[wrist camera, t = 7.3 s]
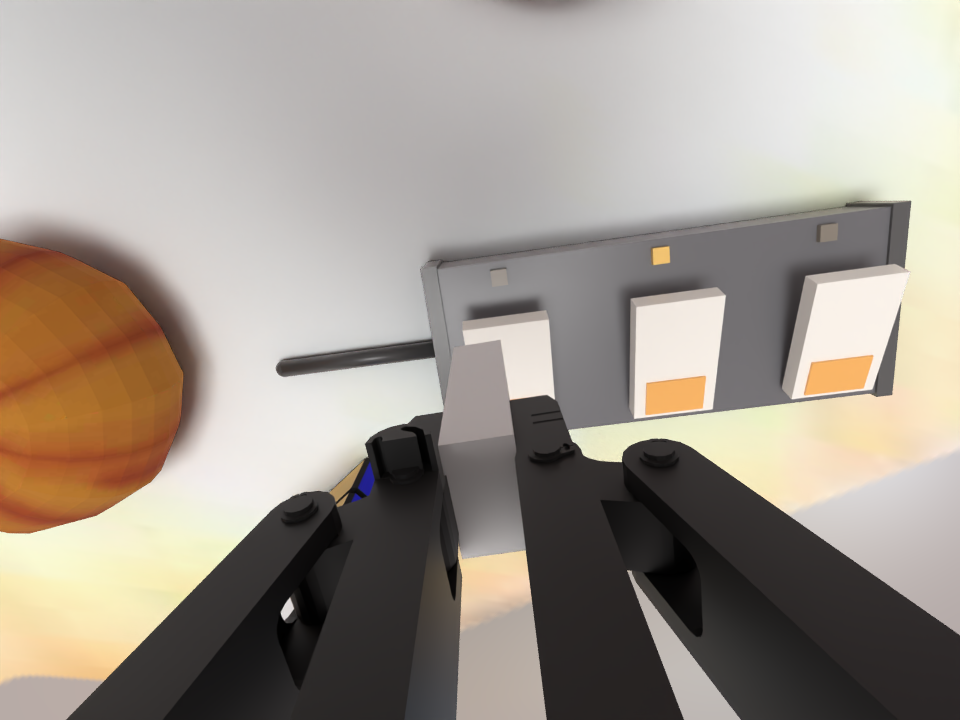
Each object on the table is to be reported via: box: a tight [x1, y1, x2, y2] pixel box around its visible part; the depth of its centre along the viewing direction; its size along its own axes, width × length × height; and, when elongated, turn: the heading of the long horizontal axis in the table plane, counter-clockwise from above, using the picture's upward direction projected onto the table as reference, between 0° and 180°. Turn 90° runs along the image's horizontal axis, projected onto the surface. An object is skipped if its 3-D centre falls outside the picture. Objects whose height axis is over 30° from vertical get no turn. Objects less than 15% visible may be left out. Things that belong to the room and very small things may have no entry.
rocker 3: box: [782, 264, 910, 399], centre depth 31 cm, size 8×5×1 cm, turn 8°
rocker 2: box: [629, 287, 726, 419], centre depth 31 cm, size 8×5×1 cm, turn 8°
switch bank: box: [276, 201, 911, 430], centre depth 35 cm, size 12×42×4 cm, turn 98°
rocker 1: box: [462, 310, 555, 400], centre depth 32 cm, size 8×5×1 cm, turn 8°
